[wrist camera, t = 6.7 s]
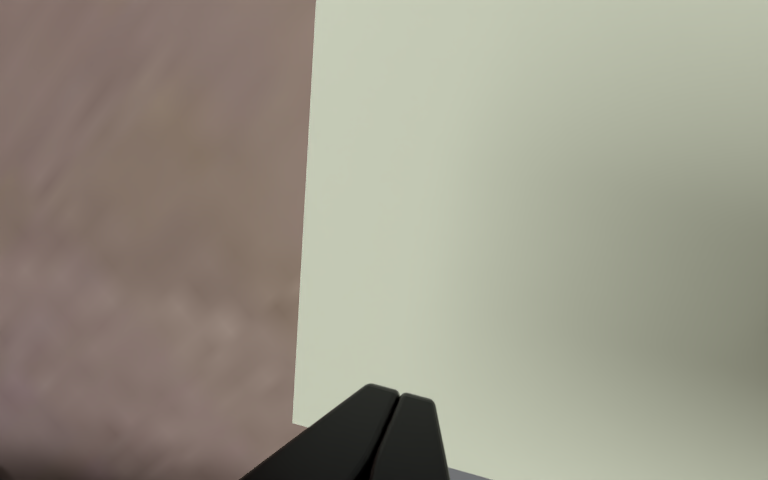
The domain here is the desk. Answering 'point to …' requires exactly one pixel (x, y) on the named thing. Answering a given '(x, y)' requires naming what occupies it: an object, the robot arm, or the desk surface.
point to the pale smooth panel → (544, 230)
